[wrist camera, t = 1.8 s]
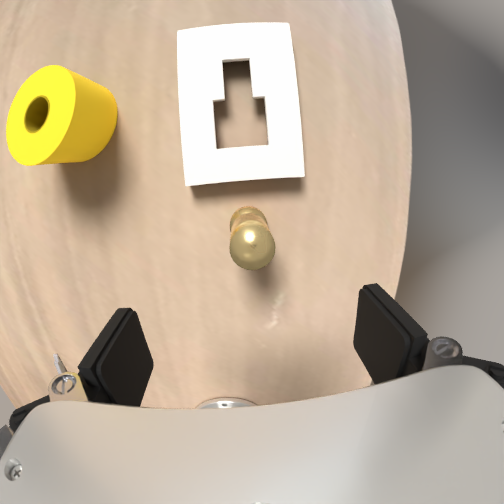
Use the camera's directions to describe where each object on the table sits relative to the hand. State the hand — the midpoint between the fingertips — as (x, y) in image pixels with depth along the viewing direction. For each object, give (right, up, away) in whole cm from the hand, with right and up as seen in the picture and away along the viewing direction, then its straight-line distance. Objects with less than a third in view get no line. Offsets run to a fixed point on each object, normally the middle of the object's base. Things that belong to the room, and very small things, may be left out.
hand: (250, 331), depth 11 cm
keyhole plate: (-1, +19, +15) cm, 25 cm away
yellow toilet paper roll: (-20, +19, +15) cm, 32 cm away
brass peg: (0, +6, +20) cm, 21 cm away
